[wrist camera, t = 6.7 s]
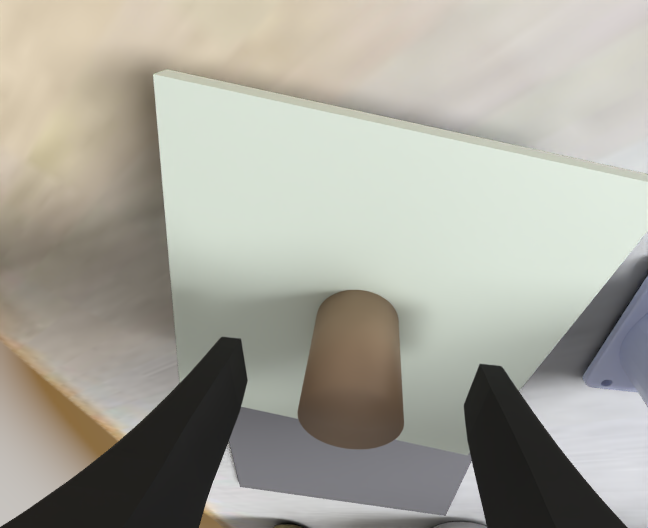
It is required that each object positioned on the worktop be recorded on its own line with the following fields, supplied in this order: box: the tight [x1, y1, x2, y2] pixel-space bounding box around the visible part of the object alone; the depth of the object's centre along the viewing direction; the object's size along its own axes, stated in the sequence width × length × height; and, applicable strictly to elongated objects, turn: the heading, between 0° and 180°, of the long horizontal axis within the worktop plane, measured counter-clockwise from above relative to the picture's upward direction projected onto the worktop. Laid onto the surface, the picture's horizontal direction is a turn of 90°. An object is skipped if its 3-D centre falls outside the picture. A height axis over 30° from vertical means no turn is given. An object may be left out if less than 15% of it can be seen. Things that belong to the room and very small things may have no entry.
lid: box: [153, 69, 648, 455], centre depth 13 cm, size 14×14×5 cm
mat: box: [229, 407, 472, 516], centre depth 26 cm, size 17×17×1 cm
